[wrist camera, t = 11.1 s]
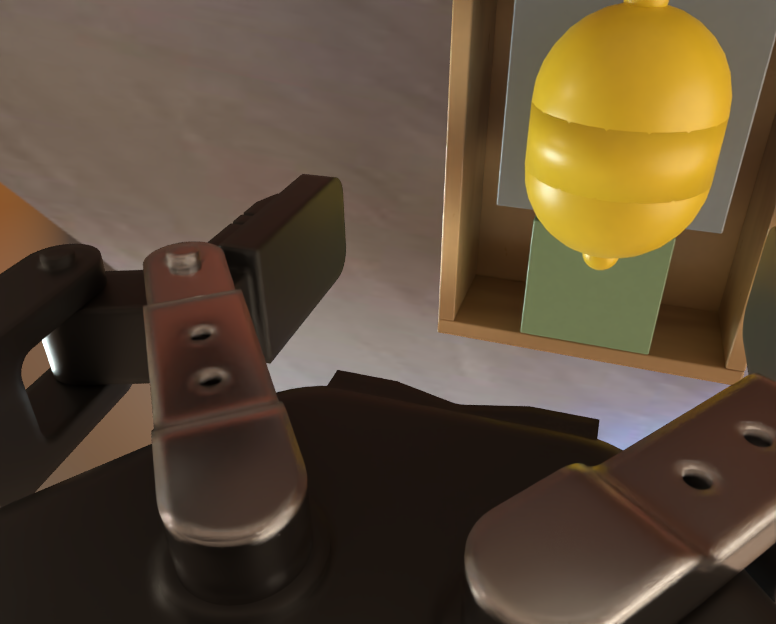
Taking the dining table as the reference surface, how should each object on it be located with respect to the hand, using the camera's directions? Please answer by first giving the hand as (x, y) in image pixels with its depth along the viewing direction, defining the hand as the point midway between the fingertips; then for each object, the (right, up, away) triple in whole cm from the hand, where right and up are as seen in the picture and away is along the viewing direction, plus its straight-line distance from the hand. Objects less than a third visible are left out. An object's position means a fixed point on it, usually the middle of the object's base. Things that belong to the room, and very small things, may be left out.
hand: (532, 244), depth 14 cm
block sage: (+8, +3, +21) cm, 23 cm away
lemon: (+5, +5, +10) cm, 13 cm away
